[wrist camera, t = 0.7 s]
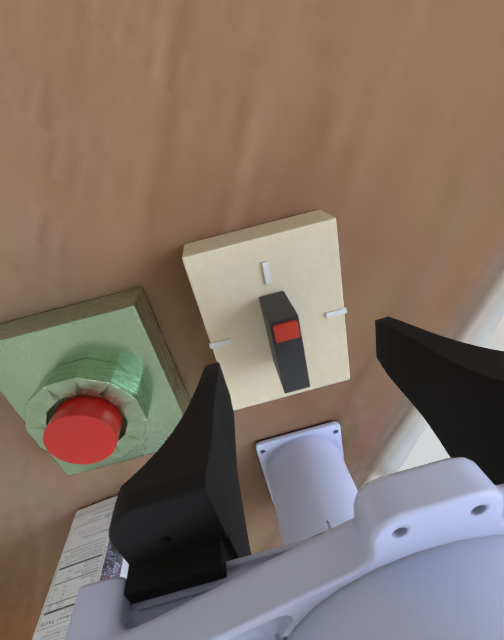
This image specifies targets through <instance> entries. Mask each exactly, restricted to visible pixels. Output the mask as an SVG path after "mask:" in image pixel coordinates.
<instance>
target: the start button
mask: <svg viewBox="0 0 504 640" xmlns="http://www.w3.org/2000/svg"><path fill="white" fill-rule="evenodd" d="M122 424H123V418H122V415H121V412H120V411H119V409H118V408H117V407H116V406H115V405H114V404H113V403H111V402H109V401H108V400H106V399H104V398H101V397H96V396H88V395H80V396H75V397H71V398H69V399H67V400H65V401H63V402H62V403H61V404H60V405H59V406H58V407H57V408H56V410H55V412H54V414H53V416H52V417H51V419H50V421H49V423H48V425H47V426H46V428H45V430H44V433H43V443H44V446H45V448H46V449H47V450H48V451H49V453H50V454H52V455H53V456H54V457H56V458H58V459H60V460H62V461H64V462H68V463H72V464H82V465H83V464H93V463H97V462H100V461H102V460H104V459H106V458H107V457H109V456H110V455H111V454H112V453H113V452H114V450H115V448H116V446H117V442H118V439H119V435H120V431H121V428H122Z"/></svg>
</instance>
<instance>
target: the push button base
mask: <svg viewBox="0 0 504 640" xmlns="http://www.w3.org/2000/svg"><path fill="white" fill-rule="evenodd" d="M0 392H1V393H2V394H3V396H4V397H5V398H6V399H7V401H8V402H9V403H10V404H11V406H12V407H13V408H14V409H15V411H16V412H17V413H18V414H19V416H20V417H21V418H22V419H23V421H24V422H25V429H26V431H27V432H28V433H29V434H30V436H31V437H32V438H33V439H34V440H35V442H36V443H37V444H38V445H39V447H40V448H42V449H43V450H46V451H48V450H47V449H46V448H45V446H44V443H43V433H44V430H45V428H46V426H47V425H48V423H49V421H50V419H51V417H52V416H53V414H54V412H55V410H56V408H57V407H58V406H59V405H60V404H61V403H62V402H63V401H65V400H67V399H69V398H71V397H75V396H80V395H88V396H96V397H101V398H104V399H106V400H108V401H109V402H111V403H113V404H114V405H115V406H116V407H117V408H118V409H119V411H120V412H121V415H122V418H123V424H122V428H121V431H120V435H119V439H118V442H117V446H116V448H115V450H114V452H113V453H112V454H111V455H110V456H109V457H107V458H106V459H104V460H102V461H100V462H97V463H93V464H83V465H82V464H72V463H68V462H64V461H62V460H60V459H58V458H56V457H54V456H53V455H52V454H50V455H51V456H52V457H53V458H54V460H55V461H56V462H57V464H58V465H59V466H60V467H61V469H62V470H63V471H64V472H65V474H66V475H67V476H70V475H74V474H78V473H81V472H85V471H89V470H92V469H96V468H100V467H103V466H107V465H111V464H114V463H118V462H122V461H125V460H129V459H133V458H136V457H140V456H144V455H147V454H151V453H155V452H157V451H158V450H159V449H160V447H161V446H162V445H163V444H164V442H165V441H166V440H167V438H168V437H169V436H170V435H171V433H172V432H173V430H174V429H175V427H176V426H177V424H178V423H179V421H180V419H181V418H182V416H183V414H184V413H185V411H186V409H187V407H188V405H189V403H190V400H189V397H188V395H187V393H186V390H185V388H184V386H183V383H182V381H181V378H180V376H179V374H178V371H177V369H176V367H175V364H174V362H173V359H172V357H171V355H170V352H169V350H168V348H167V345H166V343H165V340H164V338H163V336H162V333H161V331H160V329H159V326H158V324H157V321H156V319H155V317H154V314H153V312H152V310H151V307H150V305H149V302H148V300H147V298H146V295H145V293H144V291H143V288H142V287H139V288H135V289H131V290H127V291H124V292H120V293H116V294H112V295H108V296H104V297H101V298H97V299H93V300H89V301H85V302H81V303H78V304H74V305H70V306H66V307H62V308H58V309H55V310H51V311H47V312H43V313H39V314H35V315H32V316H28V317H24V318H20V319H16V320H12V321H8V322H5V323H1V324H0ZM48 452H49V451H48Z"/></svg>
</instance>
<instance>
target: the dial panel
mask: <svg viewBox="0 0 504 640" xmlns="http://www.w3.org/2000/svg"><path fill="white" fill-rule="evenodd" d="M182 261H183V264H184V266H185V269H186V272H187V275H188V278H189V281H190V284H191V287H192V290H193V293H194V296H195V299H196V302H197V305H198V308H199V311H200V314H201V317H202V320H203V323H204V326H205V328H206V331H207V334H208V337H209V340H210V343H209V347H210V349H213V352H214V355H215V358H216V361H217V362H219V363H220V366H221V369H222V372H223V375H224V378H225V381H226V384H227V387H228V390H229V393H230V396H231V402H232V407H233V410H238V409H242V408H246V407H249V406H253V405H257V404H260V403H264V402H268V401H271V400H275V399H279V398H282V397H286V396H290V395H293V394H297V393H301V392H305V391H308V390H312V389H316V388H319V387H323V386H327V385H330V384H334V383H338V382H341V381H345V380H349V379H350V371H349V360H348V349H347V338H346V326H345V315H344V313H347V308H346V307H344V304H343V292H342V281H341V270H340V259H339V247H338V236H337V225H336V218H334V217H332V216H330V215H328V214H327V213H325V212H323V211H321V210H315V211H311V212H307V213H303V214H300V215H296V216H292V217H288V218H284V219H280V220H276V221H272V222H269V223H265V224H261V225H257V226H253V227H249V228H245V229H242V230H238V231H234V232H230V233H226V234H222V235H218V236H214V237H211V238H207V239H203V240H199V241H195V242H191V243H187V244H184V249H183V255H182ZM280 291H284V292H285V294H286V296H287V297H288V299H289V301H290V302H291V304H292V306H293V307H294V309H295V311H296V312H297V314H298V316H299V322H300V328H301V334H302V340H303V345H304V351H305V357H306V363H307V369H308V375H309V381H310V387H308V388H304V389H300V390H297V391H293V392H289V393H286V394H285V393H284V390H283V387H282V384H281V382H280V379H279V376H278V373H277V370H276V367H275V364H274V362H273V357H272V353H271V349H270V344H269V340H268V336H267V331H266V327H265V323H264V318H263V314H262V310H261V306H260V301H259V297H261V296H265V295H269V294H273V293H277V292H280Z"/></svg>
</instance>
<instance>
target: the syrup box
mask: <svg viewBox="0 0 504 640" xmlns="http://www.w3.org/2000/svg"><path fill="white" fill-rule="evenodd" d="M117 496H118V495H117ZM117 496H114V497H111V498H109V499H106V500H103V501H101V502H98V503H95V504H93V505H90V506H88V507H85V508H83V509H80V510H78V511H77V512H76V514H75V517H74V520H73V523H72V526H71V529H70V532H69V535H68V537H67V540H66V543H65V546H64V549H63V552H62V555H61V557H60V560H59V563H58V566H57V569H56V572H55V575H54V578H53V580H52V583H51V586H50V589H49V592H48V595H47V598H46V600H45V603H44V606H43V609H42V612H41V615H40V618H39V621H38V624H37V626H36V629H35V632H34V635H33V638H32V640H65V637H66V634H67V630H68V626H69V623H70V619H71V616H72V612H73V608H74V605H75V601H76V597H77V594H78V590H79V588H80V587H82V586H84V585H87V584H91V583H94V582H98V581H102V580H105V579H109V578H112V577H124V578H126V579H127V573H128V568H129V564H128V563H127V562H126V561H125V559H124V558H123V557H122V556H121V554H120V553H119V552H118V551H117V549H116V548H115V547H114V546H113V545H112V543H111V541H110V539H109V527H110V522H111V518H112V514H113V510H114V506H115V503H116V499H117Z"/></svg>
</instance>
